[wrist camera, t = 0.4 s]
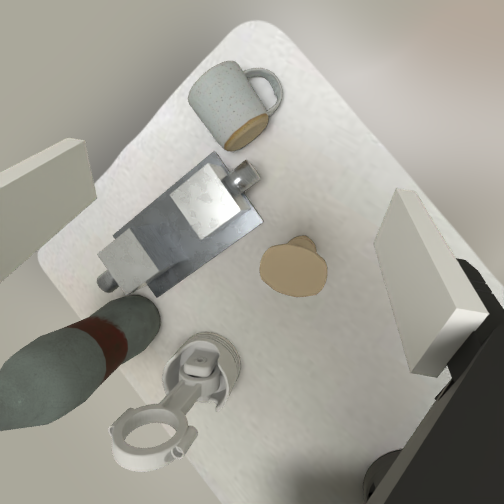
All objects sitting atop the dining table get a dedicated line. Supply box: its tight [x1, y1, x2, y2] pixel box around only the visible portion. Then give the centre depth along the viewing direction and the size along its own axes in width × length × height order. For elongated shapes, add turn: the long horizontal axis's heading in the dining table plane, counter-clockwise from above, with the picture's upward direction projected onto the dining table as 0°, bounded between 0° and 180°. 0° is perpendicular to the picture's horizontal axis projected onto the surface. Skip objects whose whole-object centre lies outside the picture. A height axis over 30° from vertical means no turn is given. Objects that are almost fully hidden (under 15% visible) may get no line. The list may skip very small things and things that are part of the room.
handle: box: [260, 236, 327, 297], centre depth 38 cm, size 5×6×15 cm
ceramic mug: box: [188, 61, 282, 151], centre depth 40 cm, size 11×8×8 cm
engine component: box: [108, 332, 241, 472], centre depth 42 cm, size 11×20×10 cm
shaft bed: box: [97, 151, 264, 298], centre depth 45 cm, size 12×28×7 cm, turn 126°
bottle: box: [0, 296, 160, 431], centre depth 38 cm, size 9×9×30 cm
